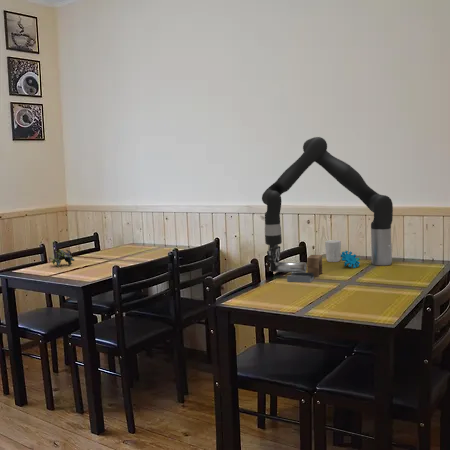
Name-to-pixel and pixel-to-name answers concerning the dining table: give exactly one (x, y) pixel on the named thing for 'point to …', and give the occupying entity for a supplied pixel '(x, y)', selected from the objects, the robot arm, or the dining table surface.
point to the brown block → (314, 265)
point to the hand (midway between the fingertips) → (274, 270)
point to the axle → (290, 267)
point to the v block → (300, 277)
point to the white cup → (333, 250)
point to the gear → (350, 259)
